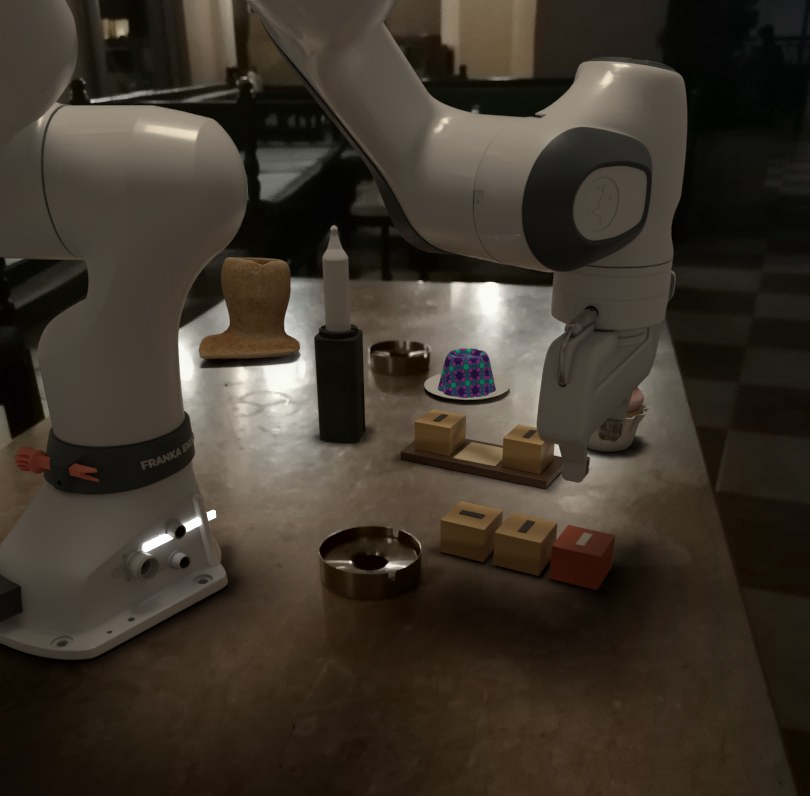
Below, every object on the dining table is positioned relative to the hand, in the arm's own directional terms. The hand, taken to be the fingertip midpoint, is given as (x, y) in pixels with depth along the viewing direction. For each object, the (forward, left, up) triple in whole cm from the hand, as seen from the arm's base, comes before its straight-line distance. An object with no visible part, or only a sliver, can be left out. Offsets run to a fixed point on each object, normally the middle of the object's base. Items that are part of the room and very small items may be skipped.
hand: (593, 457), depth 77 cm
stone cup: (+41, +67, -12) cm, 80 cm away
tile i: (0, +11, -12) cm, 16 cm away
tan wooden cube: (0, +6, -12) cm, 13 cm away
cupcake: (+31, +7, -12) cm, 34 cm away
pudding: (+41, +30, -12) cm, 53 cm away
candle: (+19, +37, -12) cm, 44 cm away
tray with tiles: (+19, +18, -12) cm, 29 cm away
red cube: (0, 0, -12) cm, 12 cm away
